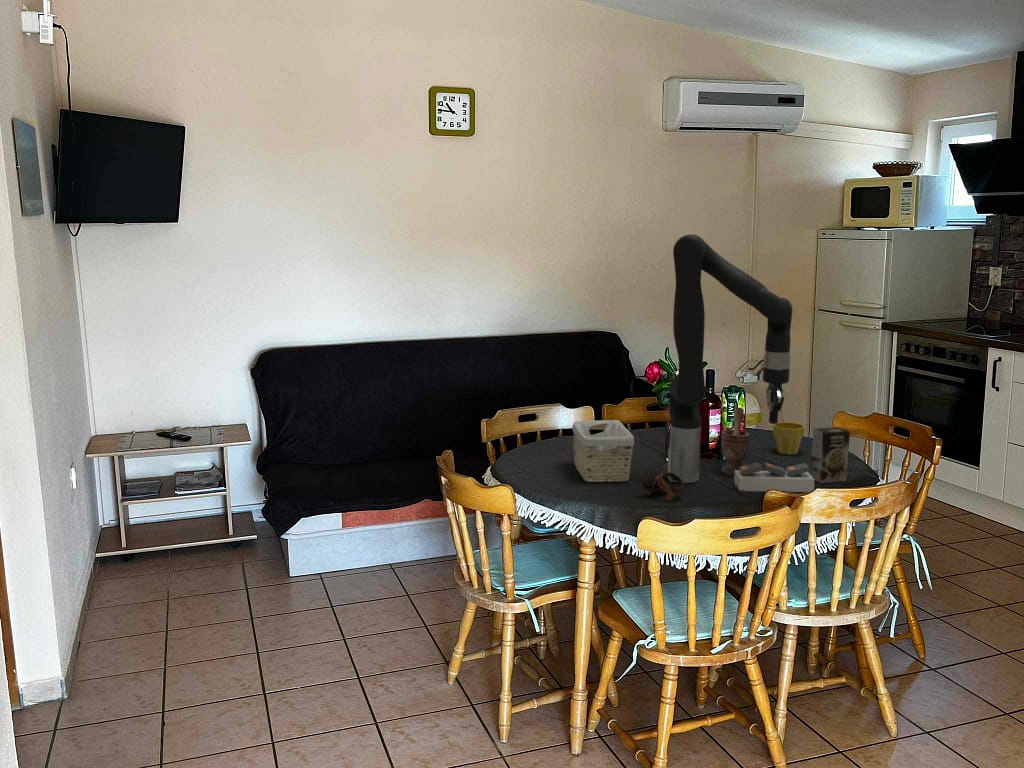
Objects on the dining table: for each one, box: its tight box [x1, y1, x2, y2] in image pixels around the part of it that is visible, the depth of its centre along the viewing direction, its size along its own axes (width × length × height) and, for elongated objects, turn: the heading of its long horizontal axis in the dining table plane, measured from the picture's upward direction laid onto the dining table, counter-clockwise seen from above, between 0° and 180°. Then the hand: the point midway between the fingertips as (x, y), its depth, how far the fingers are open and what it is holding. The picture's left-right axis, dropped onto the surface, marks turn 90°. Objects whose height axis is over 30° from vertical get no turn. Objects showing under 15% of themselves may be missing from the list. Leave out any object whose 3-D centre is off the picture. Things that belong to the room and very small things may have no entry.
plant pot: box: [772, 421, 806, 456], centre depth 315 cm, size 10×10×10 cm
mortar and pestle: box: [720, 407, 750, 476], centre depth 293 cm, size 12×9×20 cm
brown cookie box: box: [809, 426, 851, 484], centre depth 284 cm, size 9×6×16 cm
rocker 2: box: [761, 462, 786, 476], centre depth 277 cm, size 6×4×2 cm
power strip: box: [733, 470, 815, 493], centre depth 277 cm, size 22×8×5 cm, turn 87°
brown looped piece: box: [640, 471, 684, 502], centre depth 269 cm, size 12×9×8 cm
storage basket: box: [571, 419, 635, 483], centre depth 291 cm, size 24×16×15 cm
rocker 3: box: [785, 462, 811, 476], centre depth 276 cm, size 6×4×2 cm
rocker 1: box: [739, 462, 764, 475], centre depth 277 cm, size 6×4×2 cm
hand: (773, 423), depth 274 cm, fingers closed
